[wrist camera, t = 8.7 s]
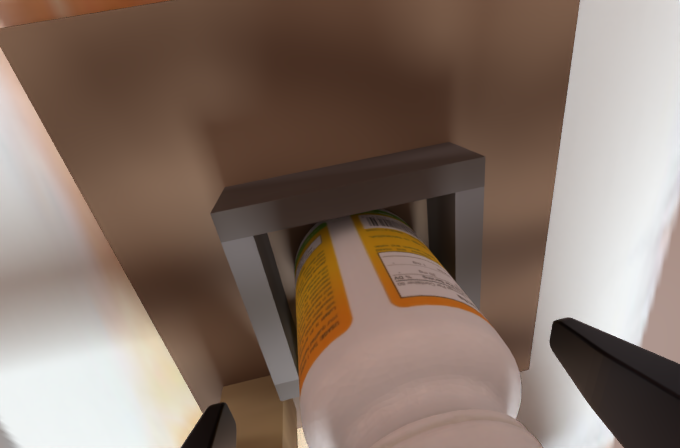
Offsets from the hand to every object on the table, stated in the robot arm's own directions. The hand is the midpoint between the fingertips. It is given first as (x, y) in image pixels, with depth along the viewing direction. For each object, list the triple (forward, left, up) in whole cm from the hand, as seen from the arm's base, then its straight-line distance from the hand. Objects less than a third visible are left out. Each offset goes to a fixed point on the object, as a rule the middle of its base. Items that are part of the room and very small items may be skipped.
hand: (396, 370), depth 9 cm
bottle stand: (0, 0, -6) cm, 7 cm away
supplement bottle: (0, 0, -6) cm, 6 cm away
